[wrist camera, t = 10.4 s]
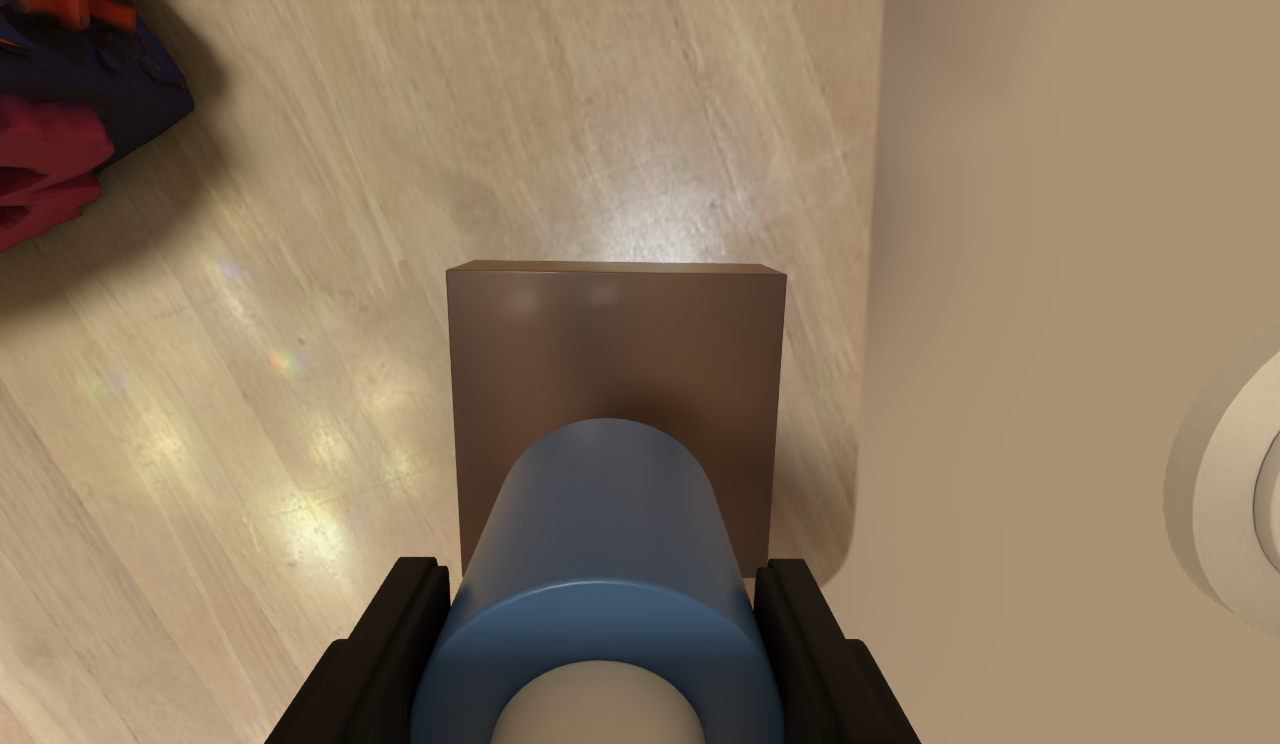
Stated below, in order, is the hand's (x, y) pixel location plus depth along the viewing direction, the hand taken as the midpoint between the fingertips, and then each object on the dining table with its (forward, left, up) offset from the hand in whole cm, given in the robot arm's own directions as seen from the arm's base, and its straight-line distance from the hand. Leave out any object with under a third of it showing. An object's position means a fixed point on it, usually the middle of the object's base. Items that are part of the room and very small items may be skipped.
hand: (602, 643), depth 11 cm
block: (0, +1, -19) cm, 19 cm away
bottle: (0, 0, -4) cm, 4 cm away
